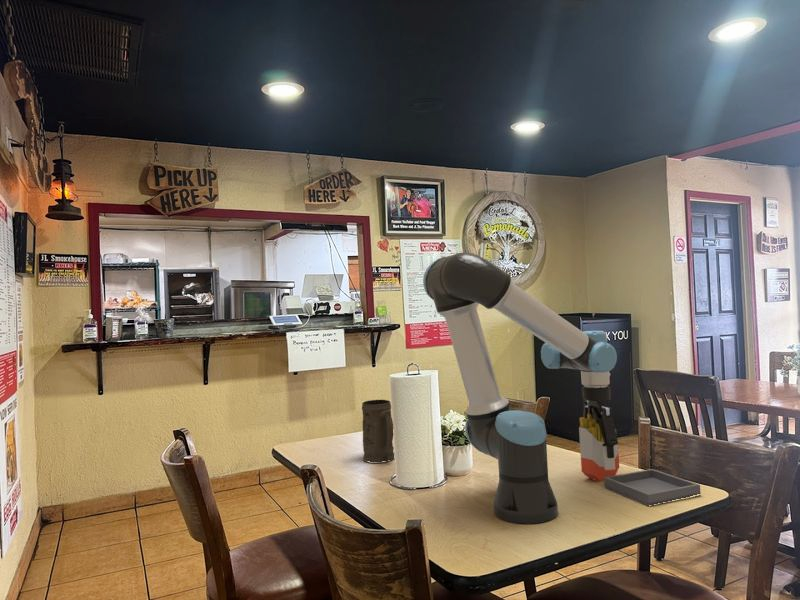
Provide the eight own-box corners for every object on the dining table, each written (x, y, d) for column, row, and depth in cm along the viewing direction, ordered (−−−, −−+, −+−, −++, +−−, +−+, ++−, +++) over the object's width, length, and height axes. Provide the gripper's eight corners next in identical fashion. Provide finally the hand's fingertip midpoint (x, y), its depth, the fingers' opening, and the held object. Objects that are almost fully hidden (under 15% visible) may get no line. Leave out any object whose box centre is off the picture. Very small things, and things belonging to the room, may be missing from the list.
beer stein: (355, 459, 194) (354, 401, 193) (380, 453, 201) (379, 397, 200) (384, 470, 182) (383, 409, 182) (409, 463, 189) (408, 403, 189)
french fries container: (621, 476, 160) (617, 412, 161) (595, 484, 155) (591, 417, 155) (607, 472, 164) (603, 410, 165) (581, 480, 159) (578, 415, 159)
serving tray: (649, 506, 136) (648, 494, 136) (604, 488, 151) (604, 477, 151) (700, 496, 141) (700, 484, 141) (652, 479, 156) (652, 468, 156)
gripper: (628, 390, 148) (633, 474, 148) (591, 379, 172) (596, 452, 171) (600, 392, 148) (605, 476, 147) (567, 381, 171) (572, 454, 171)
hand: (600, 463), depth 159 cm, fingers open, 11 cm apart
